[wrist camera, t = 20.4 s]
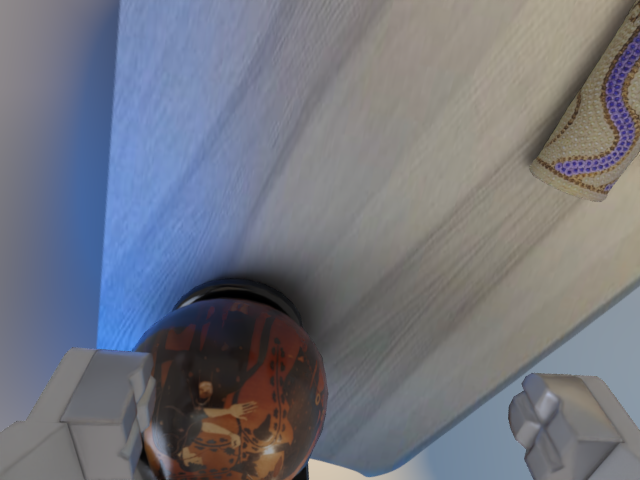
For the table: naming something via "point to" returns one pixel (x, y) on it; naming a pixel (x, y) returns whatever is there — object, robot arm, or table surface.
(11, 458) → the robot arm
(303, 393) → the amphora vase
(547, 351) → the table surface
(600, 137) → the decorative bottle
